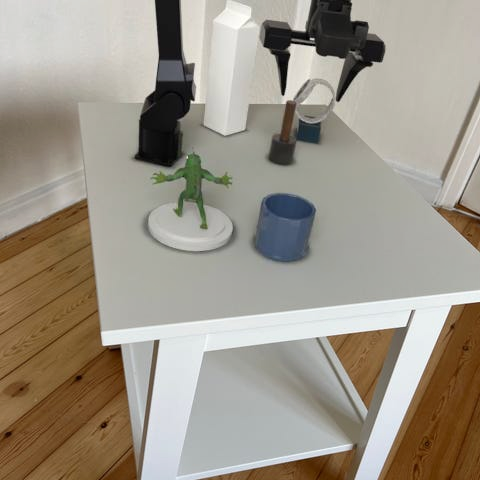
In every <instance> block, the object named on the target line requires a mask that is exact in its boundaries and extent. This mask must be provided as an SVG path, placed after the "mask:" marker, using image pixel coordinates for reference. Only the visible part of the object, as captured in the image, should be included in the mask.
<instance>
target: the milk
mask: <svg viewBox="0 0 480 480" xmlns="http://www.w3.org/2000/svg"><path fill="white" fill-rule="evenodd" d="M252 9H253V8H252V7H251V6H249V5H246V4H243V3H241V2H237V1H234V0H226V1H225V8H224V10H222V11H221V12H220V13H219V14H218V15H217V16H216V17H215V18H214V19H213V21H212V32H211V41H210V53H209V61H208V73H207V83H206V93H205V104H204V115H203V126H204V127H206V128H208V129H210V130H211V131H214V132H216V133H218V134H220V135H222V136H224V137H226V136H230V135H233V134H236V133H240V132H243V131H245V130H246V127H247V119H248V112H249V106H250V99H251V94H252V93H251V92H252V85H253V78H254V71H255V64H256V58H257V49H258V45H259V36H260V30H261V25H259V24H258V23H257V22H256V20H254V19H253V17H252V11H253V10H252Z"/></svg>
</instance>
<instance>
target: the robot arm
mask: <svg viewBox="0 0 480 480" xmlns="http://www.w3.org/2000/svg"><path fill="white" fill-rule="evenodd" d="M352 7H353V2H352V0H310V6H309V9H308V15H307V20H306V21H305V27H304V29H305V31H304V30H296V29H292V28H291V26H290V24H289V23H288V21H280V20H273V19H265V20H264V21H263V22H261V25H260V30H259V37H258V39H259V40H260V43H261V45H262V47H263V48H265V49H267V50H268V51H269V54H271V55H272V56H274V58H275V62H276V68H277V73H278V83H279V89H280V95H281V96H283V97H285V95H286V90H287V85H288V82H287V81H288V72H289V62H290V59H291V55H292V53H291V51H289V47H291V45H297V46H298V45H299V46H306V47H315V53H316V54H317V55H318V56H320V57H325V58H326V57H335V58H338V59H340V60H341V59H342V60H344V61H343V65H342V69H341V73H340V77H339V80H338V84H337V88H336V93H335V103H340V102H341V100H342V99H343V96H344V95H345V94H346V92H347V90H348V89H349V88H350V85H351V84H352V83H353V81H354V80H355V78H356V77H357V76H358V75H359V73H360V72H361V71H363V70H364V69H366V68H372V67H373V66H374V63H380V64H381V63H383V61H384V57H385V54H386V49H387V48H386V44H385V42H384V41H383V40H382V39H381V37H379V36H378V35H377V33H369V29H370V26H369V23H368V21H364V20H356V19H355V20H352V17H351V13H352V9H353V8H352ZM154 9H155V11H154V12H155V21H156V22H155V23H156V36H157V37H156V38H157V51H158V61H157V68H156V76H155V85H154V86H155V87H154V90H153V91H152V92H151V93H149V94H148V95H147V96H146V97H145V99H144V101H143V105H142V108H141V111H140V116H139V119H138V149H137V150H138V151H137V152H136V153H135V154H134V159H136V160H139V161H142V162H143V161H144V162H148V163H151V164H157V165H160V166H164V167H172V166H173V165H174V163H175V162H176V161H177V160H179V158H180V157H181V156H182V154H183V153H182V152H183V138H184V132H183V131H182V130H181V123H182V121H180V120H181V119H183V118H185V117H186V116H187V115H188V113H189V112H190V110H191V104H192V102H195V101H196V93H197V85H196V83H195V78H194V75H195V67H196V63H195V62H190V63H187V60H186V55H185V52H184V40H183V39H184V38H183V36H184V35H183V19H182V18H183V17H182V0H154Z"/></svg>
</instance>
